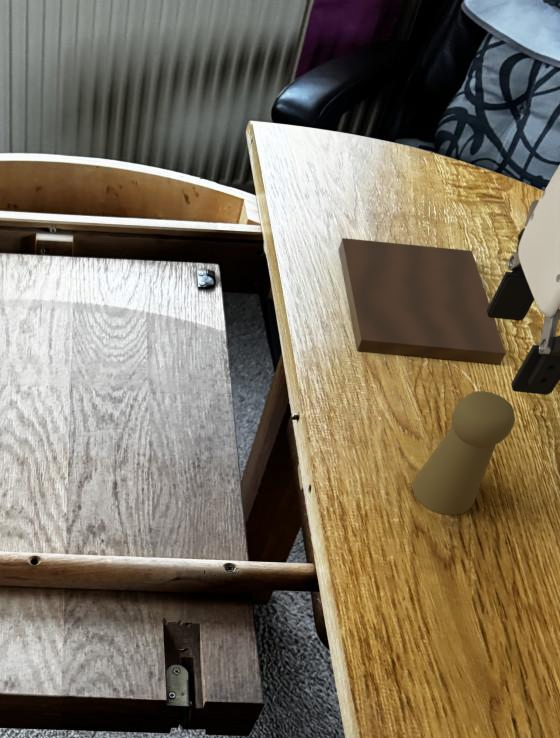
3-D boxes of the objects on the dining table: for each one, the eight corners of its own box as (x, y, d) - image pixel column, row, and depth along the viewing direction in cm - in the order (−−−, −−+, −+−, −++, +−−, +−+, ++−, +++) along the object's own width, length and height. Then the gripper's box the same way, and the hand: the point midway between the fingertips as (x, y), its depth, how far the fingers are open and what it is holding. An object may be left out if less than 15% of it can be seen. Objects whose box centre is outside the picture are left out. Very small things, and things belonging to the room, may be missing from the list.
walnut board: (467, 261, 114) (472, 250, 113) (500, 364, 103) (506, 353, 101) (338, 249, 114) (342, 237, 113) (357, 351, 102) (361, 339, 101)
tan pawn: (407, 503, 89) (452, 413, 80) (417, 463, 92) (461, 373, 83) (469, 523, 88) (522, 434, 79) (477, 481, 91) (529, 393, 82)
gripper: (731, 216, 58) (588, 427, 72) (647, 90, 68) (536, 296, 82) (613, 203, 58) (492, 417, 72) (547, 78, 68) (453, 287, 82)
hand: (516, 352), depth 77 cm, fingers open, 9 cm apart
